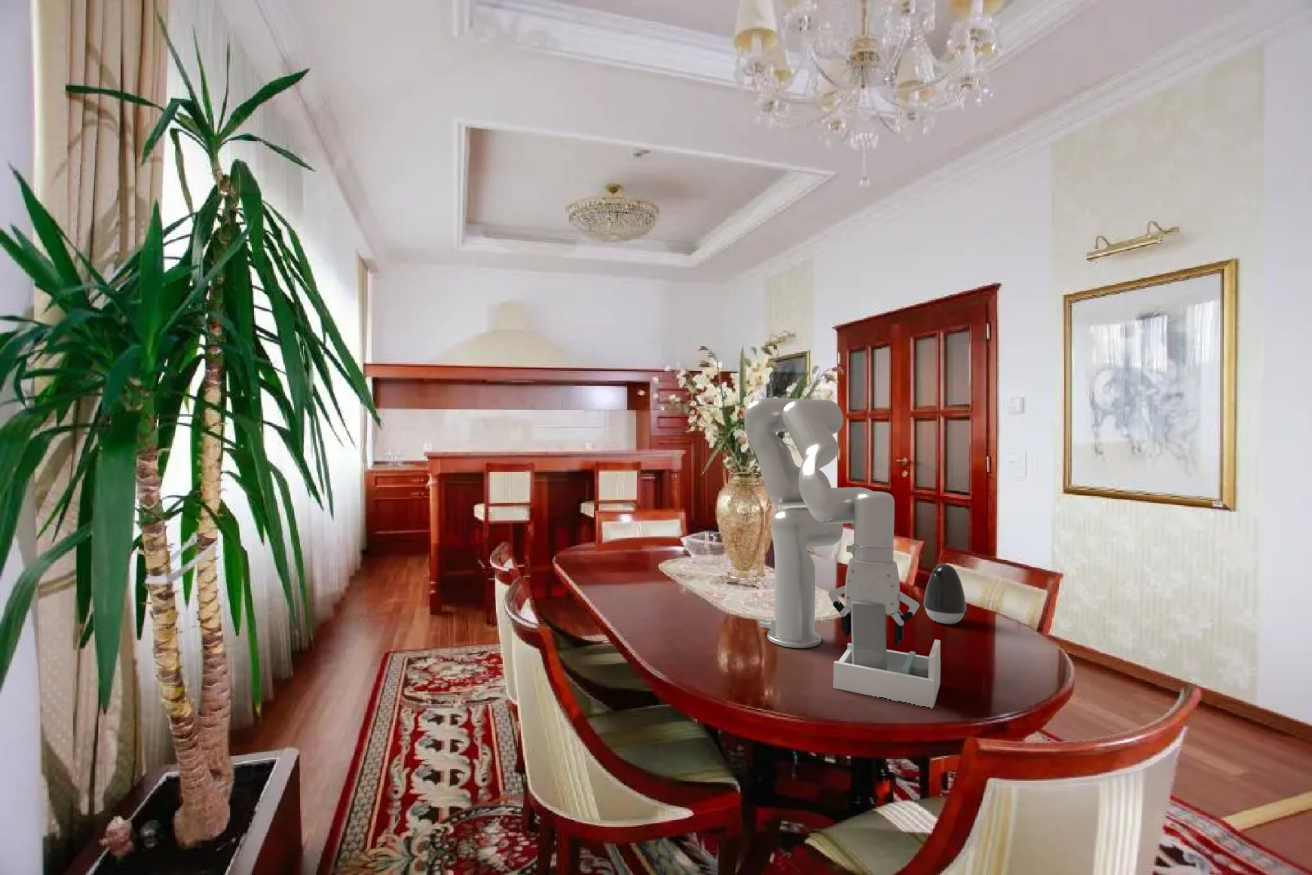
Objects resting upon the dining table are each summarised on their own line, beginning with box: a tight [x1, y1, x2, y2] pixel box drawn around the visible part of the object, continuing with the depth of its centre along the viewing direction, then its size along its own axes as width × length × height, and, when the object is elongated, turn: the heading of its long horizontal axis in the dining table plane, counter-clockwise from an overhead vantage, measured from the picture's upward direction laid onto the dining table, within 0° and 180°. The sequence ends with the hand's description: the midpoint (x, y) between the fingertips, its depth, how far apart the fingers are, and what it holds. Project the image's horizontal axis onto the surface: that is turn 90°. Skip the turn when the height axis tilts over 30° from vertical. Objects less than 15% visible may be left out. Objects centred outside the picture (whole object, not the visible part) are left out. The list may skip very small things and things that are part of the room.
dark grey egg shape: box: [923, 563, 967, 625], centre depth 167 cm, size 10×10×15 cm
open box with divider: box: [832, 639, 941, 709], centre depth 125 cm, size 18×13×9 cm
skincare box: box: [850, 601, 887, 671], centre depth 126 cm, size 8×7×16 cm
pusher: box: [903, 650, 929, 678], centre depth 122 cm, size 4×10×5 cm, turn 151°
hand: (871, 639), depth 126 cm, fingers open, 9 cm apart
